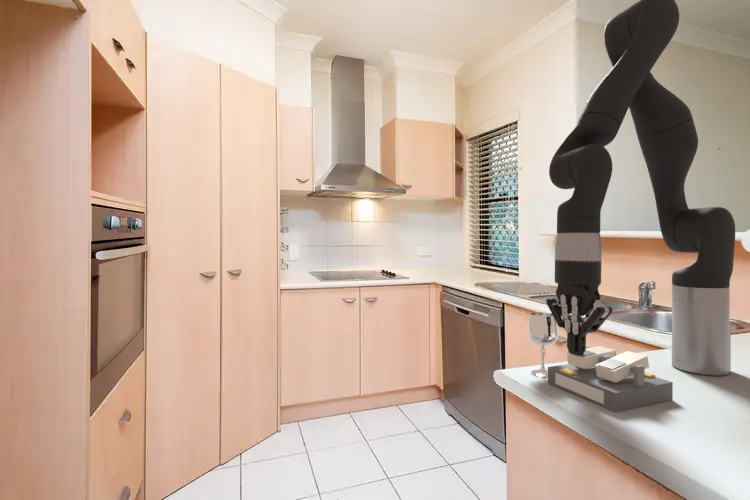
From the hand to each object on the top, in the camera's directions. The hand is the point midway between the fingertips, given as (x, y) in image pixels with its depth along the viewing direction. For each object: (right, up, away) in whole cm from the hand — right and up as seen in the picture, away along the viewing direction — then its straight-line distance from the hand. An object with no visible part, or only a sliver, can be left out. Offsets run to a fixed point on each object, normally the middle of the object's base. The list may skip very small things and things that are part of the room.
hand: (576, 353), depth 72 cm
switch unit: (+5, -6, -1) cm, 8 cm away
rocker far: (+6, -1, -4) cm, 7 cm away
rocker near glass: (+4, -2, +1) cm, 4 cm away
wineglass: (-3, -6, +8) cm, 11 cm away
